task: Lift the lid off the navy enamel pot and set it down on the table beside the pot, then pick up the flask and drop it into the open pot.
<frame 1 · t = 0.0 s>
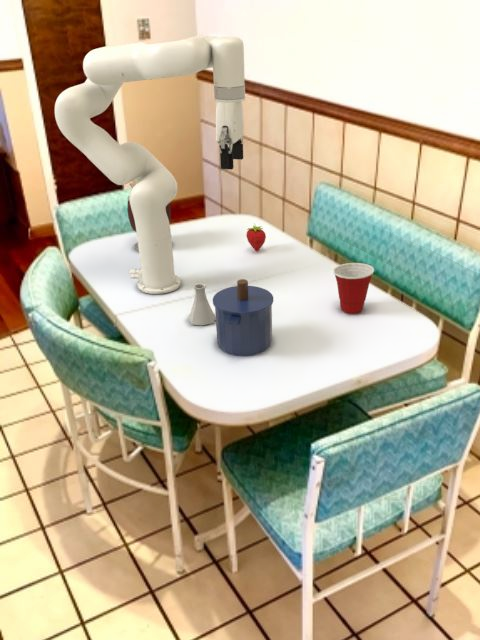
hand: (232, 163, 164), 37 cm above the table, tool pointing down, fingers open, 9 cm apart
plastic cup: (350, 309, 173), on the table
strawberry: (256, 252, 210), on the table
mate gourd: (151, 246, 215), on the table
pot lid: (243, 300, 153), point 11 cm above the table, touching pot
flask: (202, 320, 170), on the table
pot: (244, 341, 159), on the table
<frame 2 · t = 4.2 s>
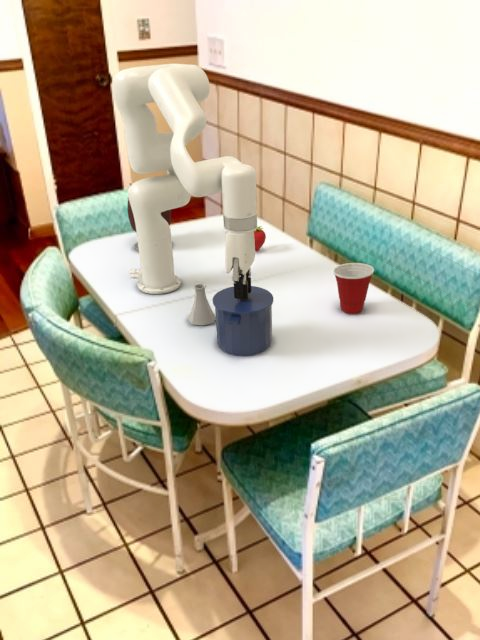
hand: (242, 294, 152), 13 cm above the table, tool pointing down, fingers closed on pot lid, 2 cm apart
pot lid: (243, 300, 153), point 12 cm above the table, touching gripper
everything else where it was.
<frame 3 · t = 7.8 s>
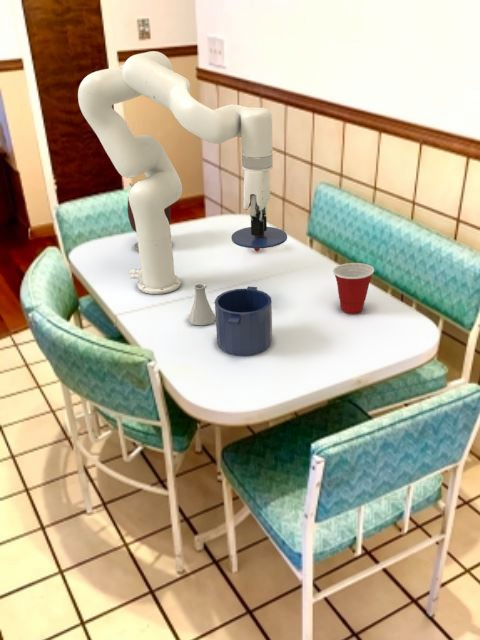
hand: (259, 232, 166), 21 cm above the table, tool pointing down, fingers closed on pot lid, 2 cm apart
pot lid: (259, 238, 167), point 19 cm above the table, touching gripper
everything else where it was.
when the fingers open (2 cm above the table, at t = 11.4 s): pot lid stays where it is, point 1 cm above the table.
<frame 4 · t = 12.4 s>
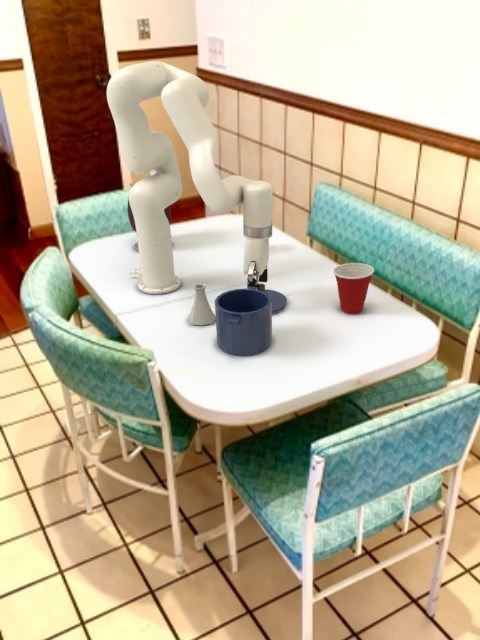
hand: (257, 289, 175), 5 cm above the table, tool pointing down, fingers open, 9 cm apart
pot lid: (260, 302, 176), point 1 cm above the table
everything else where it was.
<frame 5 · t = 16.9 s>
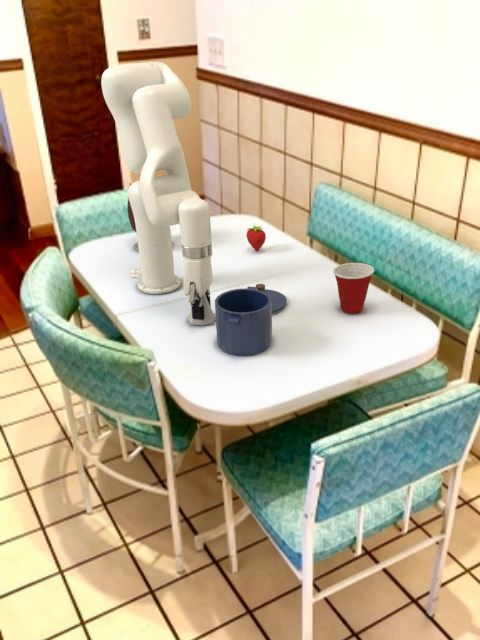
hand: (201, 313, 168), 2 cm above the table, tool pointing down, fingers closed on flask, 4 cm apart
flask: (202, 320, 170), on the table, touching gripper
everything else where it was.
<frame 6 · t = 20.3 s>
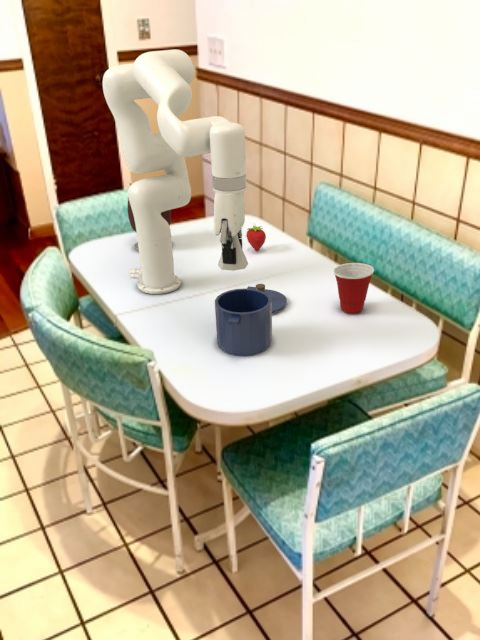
hand: (232, 258, 150), 22 cm above the table, tool pointing down, fingers closed on flask, 4 cm apart
flask: (233, 266, 151), point 19 cm above the table, touching gripper
everything else where it was.
when the fingers open (10 cm above the table, at t = 23.7 s): flask drops 8 cm, resting on pot.
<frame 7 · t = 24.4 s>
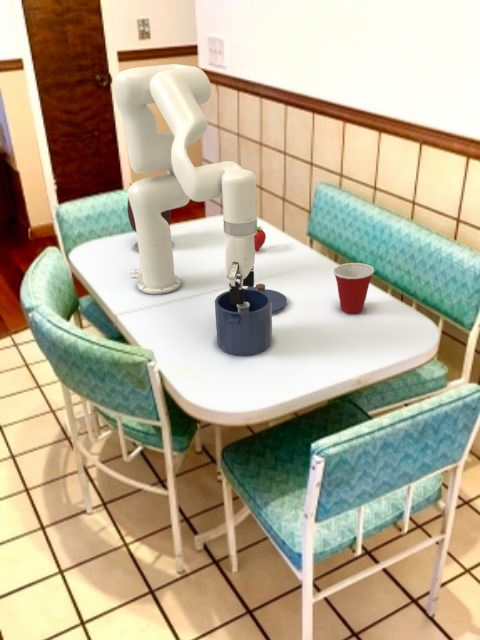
hand: (242, 294, 152), 13 cm above the table, tool pointing down, fingers open, 9 cm apart
flask: (244, 340, 159), resting on pot
everything else where it was.
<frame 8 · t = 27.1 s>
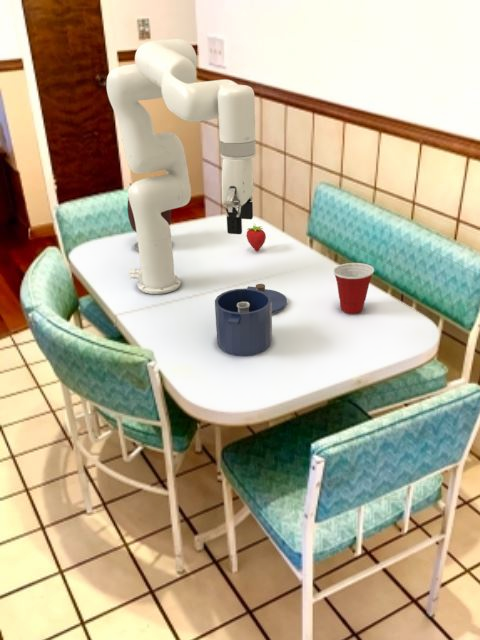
hand: (240, 225, 143), 30 cm above the table, tool pointing down, fingers open, 9 cm apart
nothing on the table moved.
at the end: pot lid inside the target area (0.2 cm from its centre), point 0.6 cm above the table; flask inside the target area in the pot (0.0 cm from its centre), point 0.3 cm above the pot's base; the gripper is holding nothing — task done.
